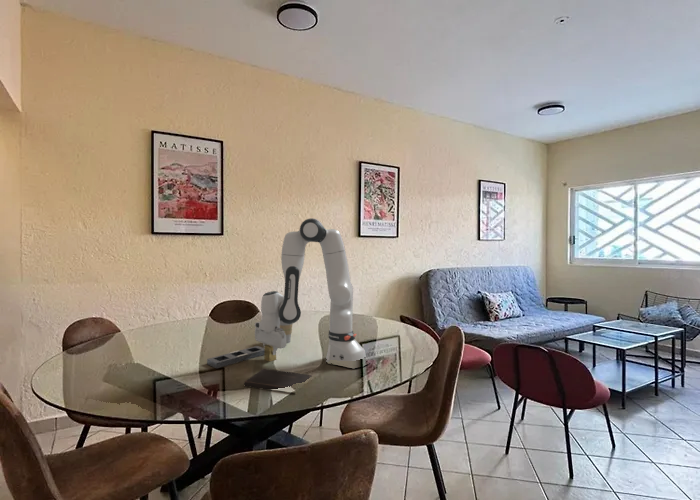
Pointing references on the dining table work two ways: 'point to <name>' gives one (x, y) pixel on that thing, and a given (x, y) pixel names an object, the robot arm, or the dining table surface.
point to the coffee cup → (286, 330)
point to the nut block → (269, 353)
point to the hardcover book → (275, 379)
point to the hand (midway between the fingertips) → (270, 353)
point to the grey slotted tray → (235, 357)
